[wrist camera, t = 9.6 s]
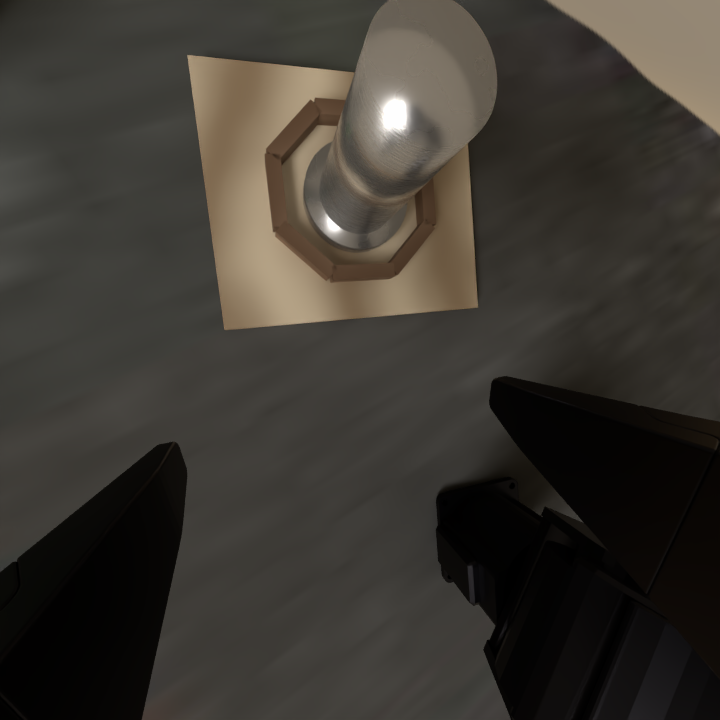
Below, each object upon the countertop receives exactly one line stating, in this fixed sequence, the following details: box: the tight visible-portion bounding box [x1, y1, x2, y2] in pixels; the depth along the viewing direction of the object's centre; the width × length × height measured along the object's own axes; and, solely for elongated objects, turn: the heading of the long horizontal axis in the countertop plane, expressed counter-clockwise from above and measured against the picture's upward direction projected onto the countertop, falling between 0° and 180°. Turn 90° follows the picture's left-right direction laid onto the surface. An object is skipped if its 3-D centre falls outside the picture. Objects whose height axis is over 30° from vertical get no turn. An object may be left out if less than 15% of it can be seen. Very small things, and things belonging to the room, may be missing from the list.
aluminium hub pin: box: [303, 0, 497, 253], centre depth 15 cm, size 6×6×10 cm
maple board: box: [188, 55, 478, 330], centre depth 20 cm, size 16×14×2 cm
